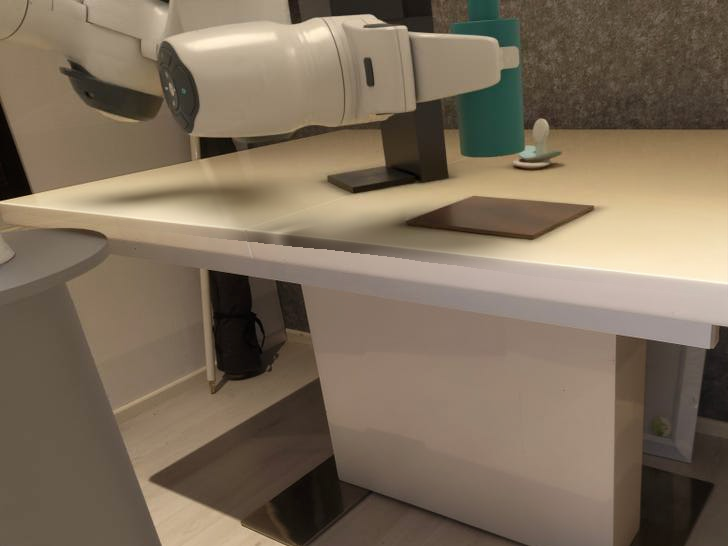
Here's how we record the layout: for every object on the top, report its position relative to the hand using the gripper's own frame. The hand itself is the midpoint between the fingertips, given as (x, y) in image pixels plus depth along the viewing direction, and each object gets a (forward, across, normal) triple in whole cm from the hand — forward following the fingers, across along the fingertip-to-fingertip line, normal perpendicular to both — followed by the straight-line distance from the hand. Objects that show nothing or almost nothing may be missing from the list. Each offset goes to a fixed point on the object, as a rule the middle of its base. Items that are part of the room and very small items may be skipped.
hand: (494, 57), depth 66 cm
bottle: (-1, 0, -9) cm, 9 cm away
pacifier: (+18, -22, -16) cm, 32 cm away
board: (-1, 0, -15) cm, 15 cm away
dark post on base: (-2, -31, -15) cm, 35 cm away
